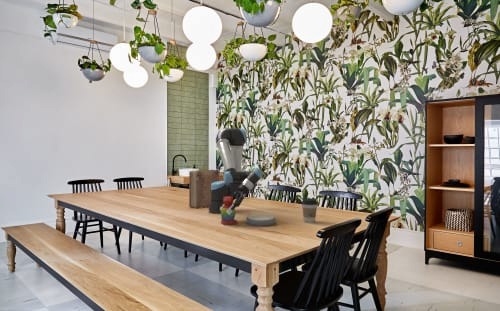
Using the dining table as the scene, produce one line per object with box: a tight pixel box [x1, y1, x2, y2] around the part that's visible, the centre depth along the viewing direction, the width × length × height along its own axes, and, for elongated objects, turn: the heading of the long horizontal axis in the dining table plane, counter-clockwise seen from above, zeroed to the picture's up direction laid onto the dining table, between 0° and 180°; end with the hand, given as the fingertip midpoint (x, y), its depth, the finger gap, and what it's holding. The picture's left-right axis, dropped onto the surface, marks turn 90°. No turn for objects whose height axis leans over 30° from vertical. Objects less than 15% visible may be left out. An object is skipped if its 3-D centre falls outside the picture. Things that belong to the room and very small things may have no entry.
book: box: [188, 169, 220, 209], centre depth 295 cm, size 25×9×30 cm, turn 138°
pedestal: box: [246, 214, 276, 227], centre depth 230 cm, size 19×19×4 cm
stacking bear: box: [220, 196, 239, 226], centre depth 230 cm, size 11×10×18 cm
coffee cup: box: [300, 198, 319, 224], centre depth 235 cm, size 11×11×15 cm
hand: (224, 212), depth 229 cm, fingers open, 10 cm apart
